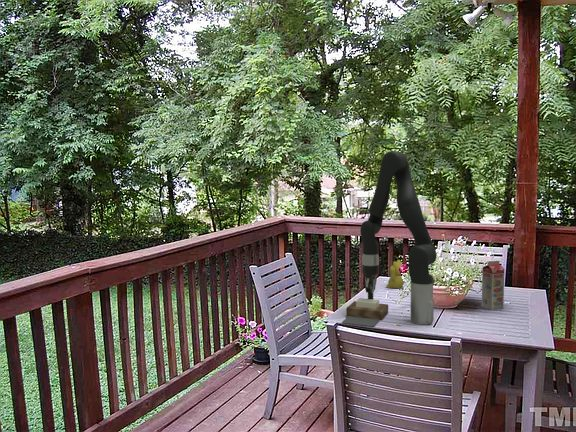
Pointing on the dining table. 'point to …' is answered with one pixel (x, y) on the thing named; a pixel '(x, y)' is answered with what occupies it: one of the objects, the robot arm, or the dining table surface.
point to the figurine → (395, 276)
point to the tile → (367, 303)
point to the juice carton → (493, 286)
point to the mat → (360, 321)
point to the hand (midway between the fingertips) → (370, 300)
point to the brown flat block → (367, 311)
